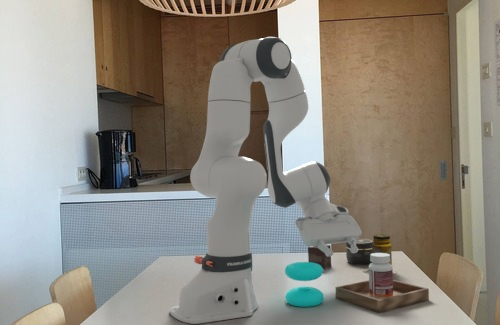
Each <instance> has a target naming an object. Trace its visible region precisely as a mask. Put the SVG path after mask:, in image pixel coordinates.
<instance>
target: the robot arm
mask: <svg viewBox="0 0 500 325" xmlns="http://www.w3.org/2000/svg"><path fill="white" fill-rule="evenodd" d="M292 57H293V56H292V53H291V50H290V47H289V45H288V44H287V43H286V42H285V41H284V40H283V39H282V38H279V37H275V36H266V37H264V38H258V39H249V40H246V41H242V42H240V43H237V44H232V45H229V47H227V48H225V50H224V51H223V52H222V53H221V54H220V57H219V62H217V63H215V64H214V66H213V68H212V71H211V75H210V78H209V86H208V95H207V113H206V114H207V116H206V131H205V136H204V141H203V145H202V148H201V151H200V155H199V158H198V159H197V161H196V162H195V164H194V165H193V166H192V168H191V171H190V175H189V177H190V178H189V179H190V183H191V186H192V188H193V189H194V190H195V191H196V192H197V193H199V194H201V195H202V196H205V197H207V198H210V199H212V198H213V199H216V203H215V206H214V207H215V208H214V211H213V214H212V216H211V217H210V219H209V220H208V221H207V222H206V243H207V244H206V245H207V246H206V247H207V253H206V254H205V255H204V256H200V255H195V257H193V261H194V263H195V264H198V265H201V269H200V270H199V271H198V272H197V273H196V274H195V275H194V276H193V277H192V278H191V279H189V281H187V282H186V283H185V284H184V285H182V287H181V290H180V293H179V299H178V300H179V301H178V304H177V305H174V306H171V307H170V312H169V313H170V315H171V316H172V317H173V318H175V319H177V320H178V321H180V322H183V323H187V324H192V325H193V324H194V325H197V324H204V323H211V322H218V321H224V320H230V319H238V318H247V317H250V316H252V315H253V314H254V311H256V310H257V309H258V308H259V304H258V301H257V298H256V294H255V289H254V283H253V274H252V272H253V253H252V250H251V220H252V214H253V210H254V206H255V204H256V201H257V200H258V198H259V197H260V196H261V195H262V194H263V192H264V191H265V188H266V186H267V191H268V192H267V193H268V196H269V199H270V200H271V202H272V203H273V204H274V205H275V206H278V207H281V208H285V209H287V208H288V207H291V206H292V205H294V204H296V205H297V206H298V207H299V208H300V209H301V211H302V215H303V217H298V218H297V219H296V220H295V226H296V228H297V229H298V233H299V236H300V238H301V241H302V242H303V244H304V245H305V246H306V247H307V248H308V247H310V246H317V247H318V248H319V249H320V250H321V251H323V252H324V253H325V255H326V256H327V257H329V256H331V257H332V256H333V255H334V251H333V249H332V247H331V248H328V247H327V246H326V245H333V244H340V243H341V244H343V243H346V242H348V244H351V248H350V249H349V250H350V251H351V253H357V252H358V248H357V246H356V241H357V240H358V239H361V238H360V237H361V236H362V232H363V231H362V229H361V228H360V226H359V224H358V223H357V221H356V220H355V219H354V217H353V216H351V214H349V213H350V211H349V210H348V208H347V207H344V206H341V205H337V204H334V203H332V202H330V201H329V200H328V199H327V197H326V196H325V194H327V192H328V190H329V188H330V184H331V177H330V174H329V172H328V170H327V169H326V167H325V166H324V165H323V164H322V163H320V162H318V161H315V160H313V161H310V162H308V163H304V164H302V165H299V166H297V167H294V168H292V169H289V170H287V171H284V169H283V161H282V152H281V151H282V150H281V148H282V143H283V142H284V140H285V138H286V137H287V136H288V135H289V134H291V132H292V131H293V130H295V129H296V128H297V127H299V125H301V123H302V122H303V121H304V120H305V118H306V116H307V114H308V111H309V100H308V95H307V92H306V88H305V85H304V82H303V79H302V76H301V74H300V72H299V70H298V67H297V65H296V63H295V62H294V60H292ZM253 82H254V83H256V82H261V84H263V87H264V91H265V92H264V93H265V95H266V100H267V103H268V115H267V116H268V117H267V119H266V120H265V122H264V123H263V127H262V128H263V130H262V134H263V135H262V136H263V145H264V146H263V147H264V156H265V164H266V169H265V167H264V166H263V164H262V163H260V162H259V161H257V160H254V159H252V158H249V157H246V156H239V153H240V151H241V148H242V145H243V143H244V141H246V139H247V138H248V136H249V134H250V131H251V127H250V126H251V104H252V103H251V98H252V97H251V96H252V95H251V86H252V83H253ZM266 171H267V172H266Z"/></svg>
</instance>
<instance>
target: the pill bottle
mask: <svg viewBox="0 0 500 325" xmlns="http://www.w3.org/2000/svg"><path fill="white" fill-rule="evenodd" d="M370 261H371V262H372V263H371V264H368V270H369V274H368V280H369V293H370V297H373V298H376V299H383V298H387V297H391V296H393V280H394V274H393V272H394V271H393V265H391V264H389V262H390V254H387V253H372V254H370Z"/></svg>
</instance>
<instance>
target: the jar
mask: <svg viewBox="0 0 500 325" xmlns="http://www.w3.org/2000/svg"><path fill="white" fill-rule="evenodd" d="M372 244H373V239H369V238H359V239H358V240H357V241H356V246H357V248H358V252H357V253H351V251H350V250H349V249H350V248H351V244H348V242H345V257H346V261H347V262H348V264H350V263H352V264H351V265H355V264H358V265H357V266H366V265H367V264H368V265H370V264H371V263H372V262H371V261H370V254H372ZM368 265H367V266H368Z"/></svg>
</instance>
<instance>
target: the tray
mask: <svg viewBox="0 0 500 325" xmlns="http://www.w3.org/2000/svg"><path fill="white" fill-rule="evenodd" d="M429 294H430V291H429V288H427V287H423V286H419V285H415V284H411V283H407V282H403V281H400V280H395V279H393V296H391V297H387V298H383V299H376V298H373V297H370V293H369V279H368V280H364V281H359V282H355V283H350V284H345V285H340V286H336V287H335V299H337V300H340V301H343V302H346V303H349V304H352V305H355V306H358V307H361V308H364V309H366V310H370V311H373V312H376V313H379V314H380V313H381V314H382V313H385V312H388V311H392V310H397V309H401V308H403V307H408V306H411V305H416V304H419V303H423V302H426V301H427V302H429V300H430V296H429Z"/></svg>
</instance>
